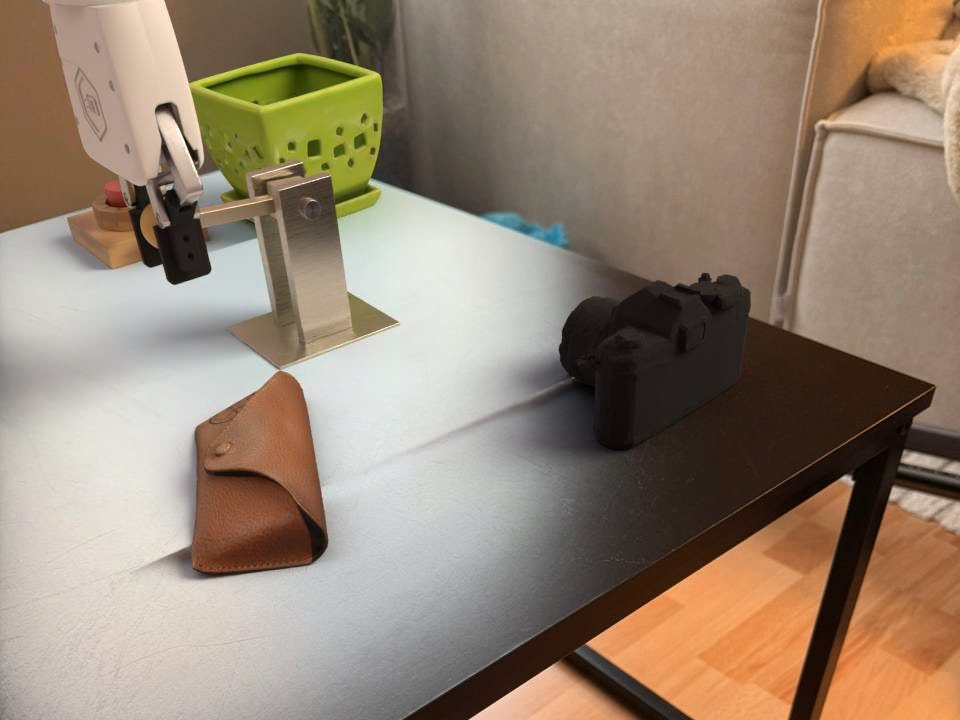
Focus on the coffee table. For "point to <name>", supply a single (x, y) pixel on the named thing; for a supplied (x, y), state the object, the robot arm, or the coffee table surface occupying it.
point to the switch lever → (222, 211)
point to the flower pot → (295, 123)
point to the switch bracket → (304, 273)
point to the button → (114, 194)
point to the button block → (108, 233)
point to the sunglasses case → (258, 485)
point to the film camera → (656, 353)
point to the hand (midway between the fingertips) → (177, 267)
